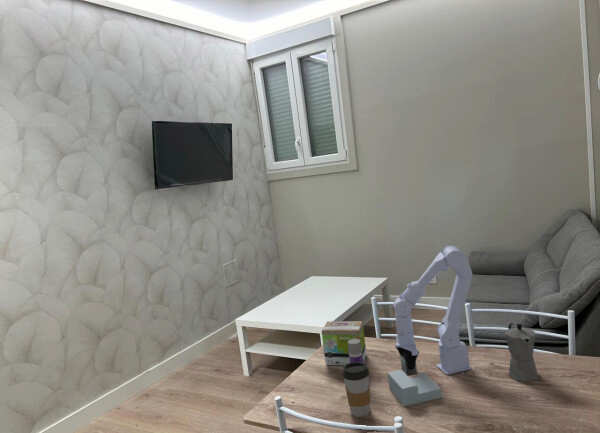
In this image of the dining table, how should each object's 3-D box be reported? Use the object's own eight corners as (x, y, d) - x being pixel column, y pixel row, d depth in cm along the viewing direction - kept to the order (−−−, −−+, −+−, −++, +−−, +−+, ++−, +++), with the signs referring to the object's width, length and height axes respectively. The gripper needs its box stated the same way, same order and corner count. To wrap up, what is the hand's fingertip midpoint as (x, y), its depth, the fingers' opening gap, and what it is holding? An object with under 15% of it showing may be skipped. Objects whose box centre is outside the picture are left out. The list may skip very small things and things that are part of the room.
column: (412, 367, 170) (410, 351, 169) (417, 371, 166) (415, 356, 165) (401, 369, 169) (399, 354, 168) (406, 374, 165) (404, 358, 164)
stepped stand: (424, 380, 159) (422, 364, 158) (442, 397, 147) (440, 379, 146) (389, 389, 156) (387, 372, 156) (404, 406, 145) (402, 388, 144)
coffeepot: (547, 383, 147) (543, 330, 144) (516, 386, 147) (512, 333, 145) (526, 362, 162) (522, 313, 160) (499, 365, 163) (494, 316, 160)
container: (365, 384, 162) (360, 343, 160) (351, 384, 163) (346, 344, 161) (365, 377, 166) (361, 338, 165) (353, 378, 167) (348, 338, 166)
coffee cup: (345, 407, 149) (339, 363, 147) (370, 402, 150) (365, 359, 148) (350, 421, 141) (344, 375, 139) (376, 416, 141) (371, 370, 139)
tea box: (325, 366, 180) (320, 330, 178) (331, 355, 189) (326, 320, 188) (363, 366, 175) (358, 329, 174) (367, 354, 185) (362, 319, 183)
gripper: (386, 326, 172) (390, 360, 173) (403, 340, 158) (407, 377, 159) (404, 322, 173) (408, 356, 175) (422, 336, 159) (425, 373, 161)
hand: (408, 366), depth 167 cm, fingers closed on column, 4 cm apart
